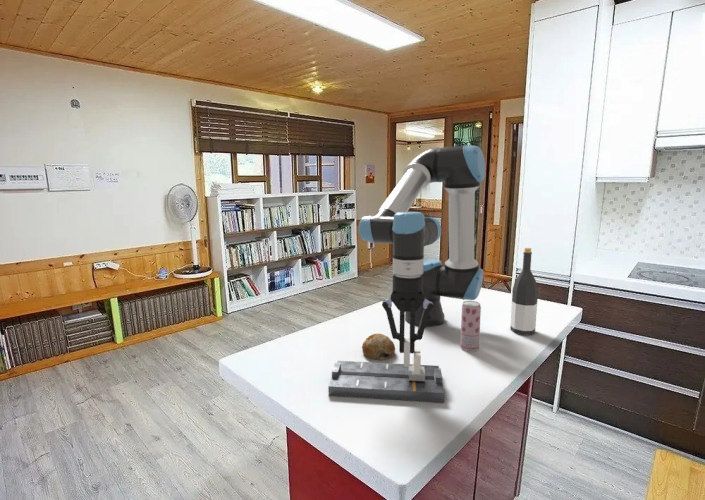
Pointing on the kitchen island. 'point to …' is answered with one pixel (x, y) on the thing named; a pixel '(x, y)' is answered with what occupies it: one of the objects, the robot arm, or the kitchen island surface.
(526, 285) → the wine bottle
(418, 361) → the fader
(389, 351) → the bread roll
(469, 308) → the beverage can
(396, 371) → the console
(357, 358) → the kitchen island surface
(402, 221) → the robot arm
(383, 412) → the kitchen island surface
